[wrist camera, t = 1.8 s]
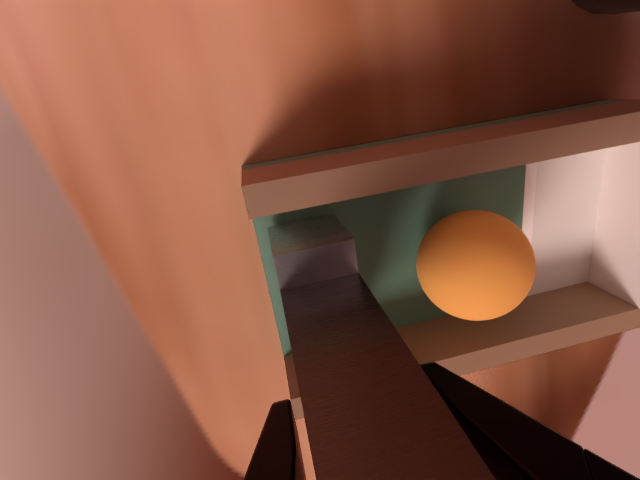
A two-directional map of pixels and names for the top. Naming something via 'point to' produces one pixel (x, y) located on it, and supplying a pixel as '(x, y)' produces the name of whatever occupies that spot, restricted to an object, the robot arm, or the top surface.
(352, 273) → the block
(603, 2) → the coffee cup
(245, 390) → the top surface
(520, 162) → the pitch
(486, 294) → the ball
